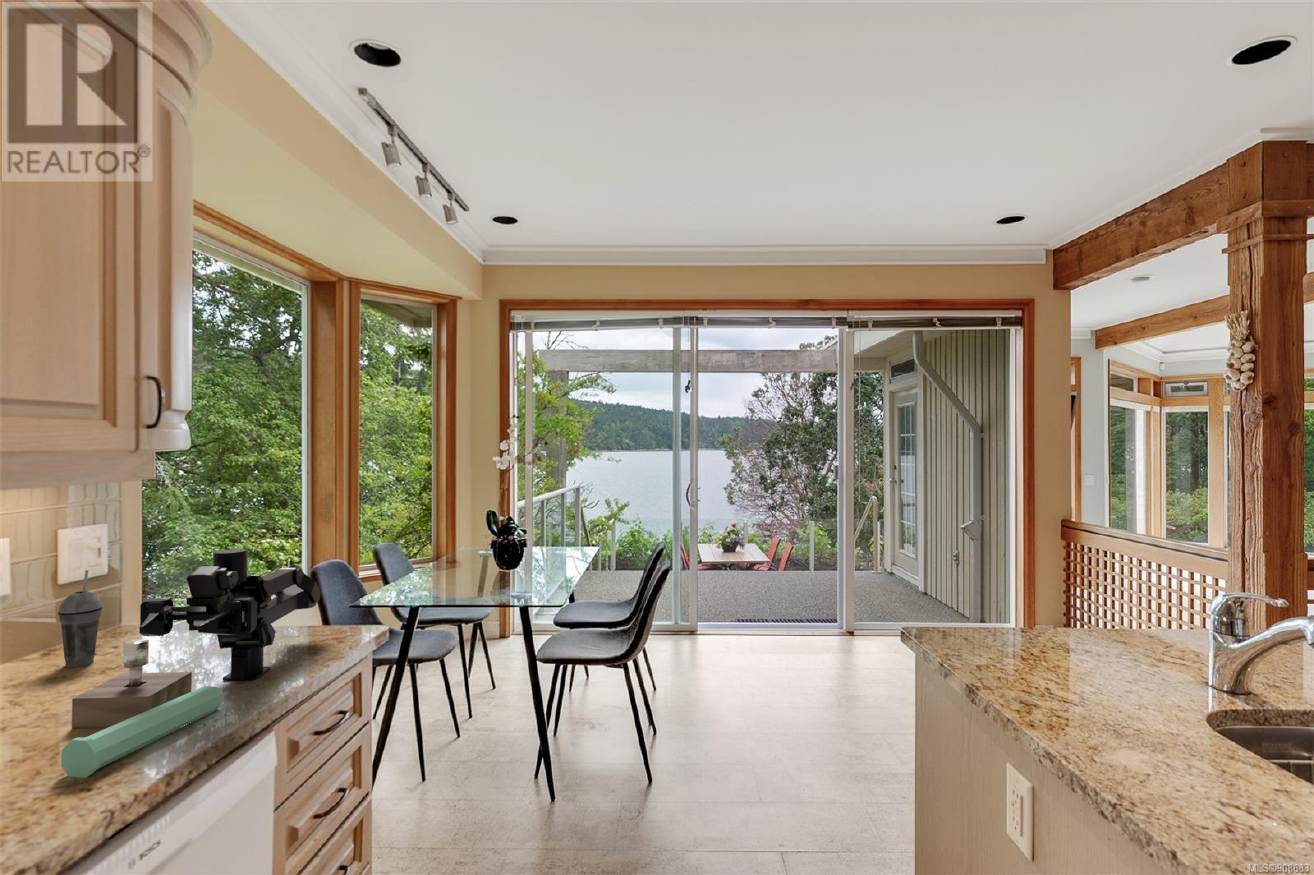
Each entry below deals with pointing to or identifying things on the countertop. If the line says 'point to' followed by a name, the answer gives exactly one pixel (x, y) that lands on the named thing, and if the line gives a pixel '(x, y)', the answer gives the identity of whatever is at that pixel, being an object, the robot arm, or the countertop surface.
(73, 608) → the beverage cup
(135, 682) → the silver metal peg
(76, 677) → the countertop surface
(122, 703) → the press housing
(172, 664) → the countertop surface
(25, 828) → the countertop surface
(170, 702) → the mint green octagonal rod
